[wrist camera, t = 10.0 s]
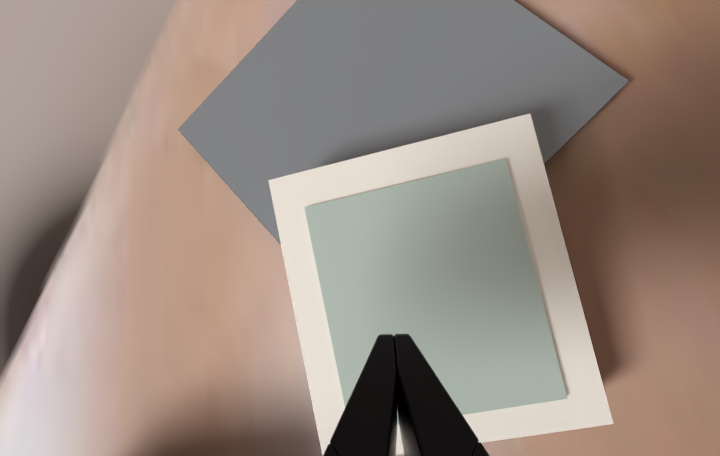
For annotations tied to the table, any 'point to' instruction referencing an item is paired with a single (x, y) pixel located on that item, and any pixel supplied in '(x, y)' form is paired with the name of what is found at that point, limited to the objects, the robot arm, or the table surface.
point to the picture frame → (442, 280)
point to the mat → (389, 87)
